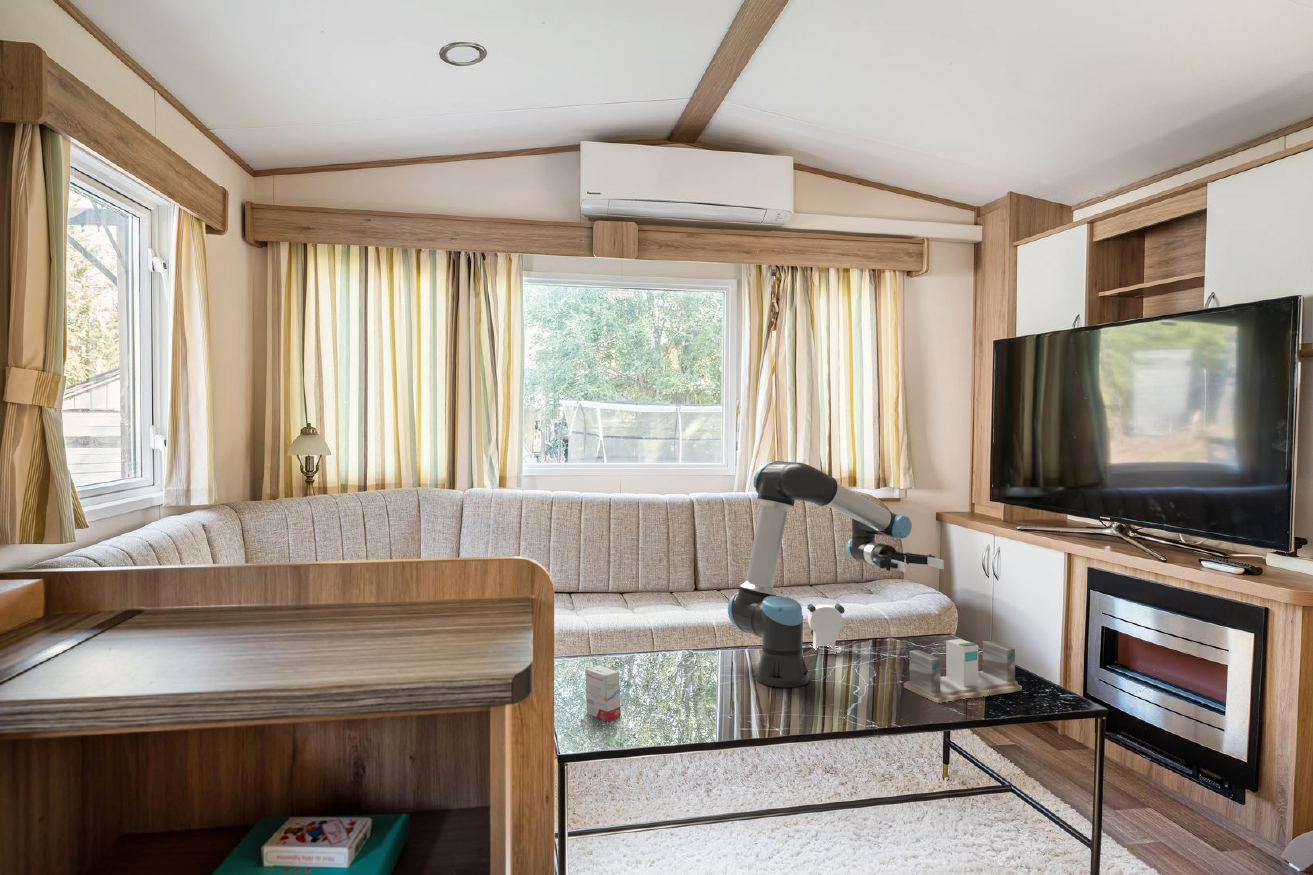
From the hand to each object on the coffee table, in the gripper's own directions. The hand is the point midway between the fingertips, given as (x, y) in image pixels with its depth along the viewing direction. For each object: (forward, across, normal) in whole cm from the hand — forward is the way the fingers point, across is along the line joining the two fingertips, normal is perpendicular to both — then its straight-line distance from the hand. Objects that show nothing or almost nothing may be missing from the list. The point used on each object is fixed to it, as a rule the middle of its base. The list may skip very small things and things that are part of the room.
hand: (924, 566), depth 228 cm
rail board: (+16, 0, -32) cm, 36 cm away
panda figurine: (-30, +16, -32) cm, 47 cm away
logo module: (+16, 0, -30) cm, 34 cm away
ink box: (-1, +100, -32) cm, 106 cm away
